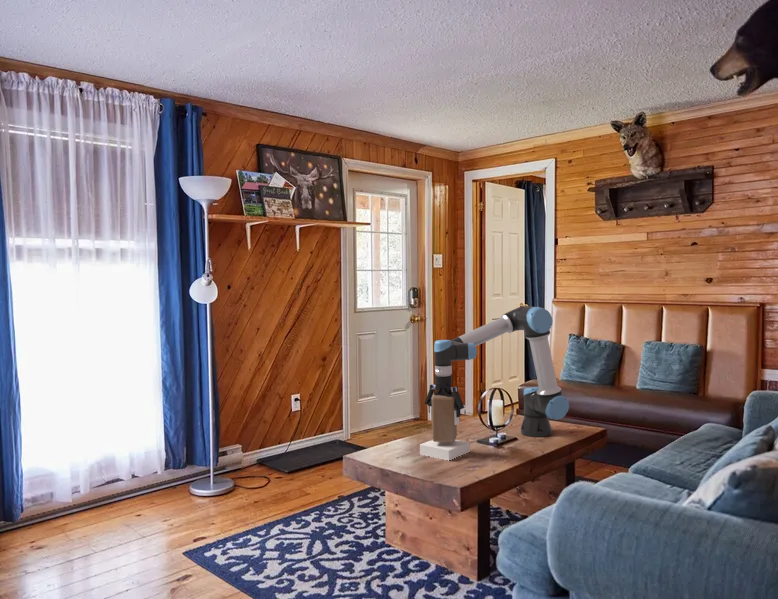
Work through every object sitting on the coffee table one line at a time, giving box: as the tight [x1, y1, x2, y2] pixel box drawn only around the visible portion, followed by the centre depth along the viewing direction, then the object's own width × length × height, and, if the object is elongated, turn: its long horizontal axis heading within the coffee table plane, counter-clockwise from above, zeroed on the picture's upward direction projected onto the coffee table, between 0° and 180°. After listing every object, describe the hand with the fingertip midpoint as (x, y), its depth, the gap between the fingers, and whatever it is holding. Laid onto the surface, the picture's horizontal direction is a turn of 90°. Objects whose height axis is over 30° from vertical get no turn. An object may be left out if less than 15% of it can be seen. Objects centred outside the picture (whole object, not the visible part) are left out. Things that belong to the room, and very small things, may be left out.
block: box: [431, 393, 458, 442], centre depth 273 cm, size 10×10×20 cm
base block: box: [419, 439, 471, 462], centre depth 274 cm, size 16×16×5 cm
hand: (444, 422), depth 273 cm, fingers closed on block, 13 cm apart
